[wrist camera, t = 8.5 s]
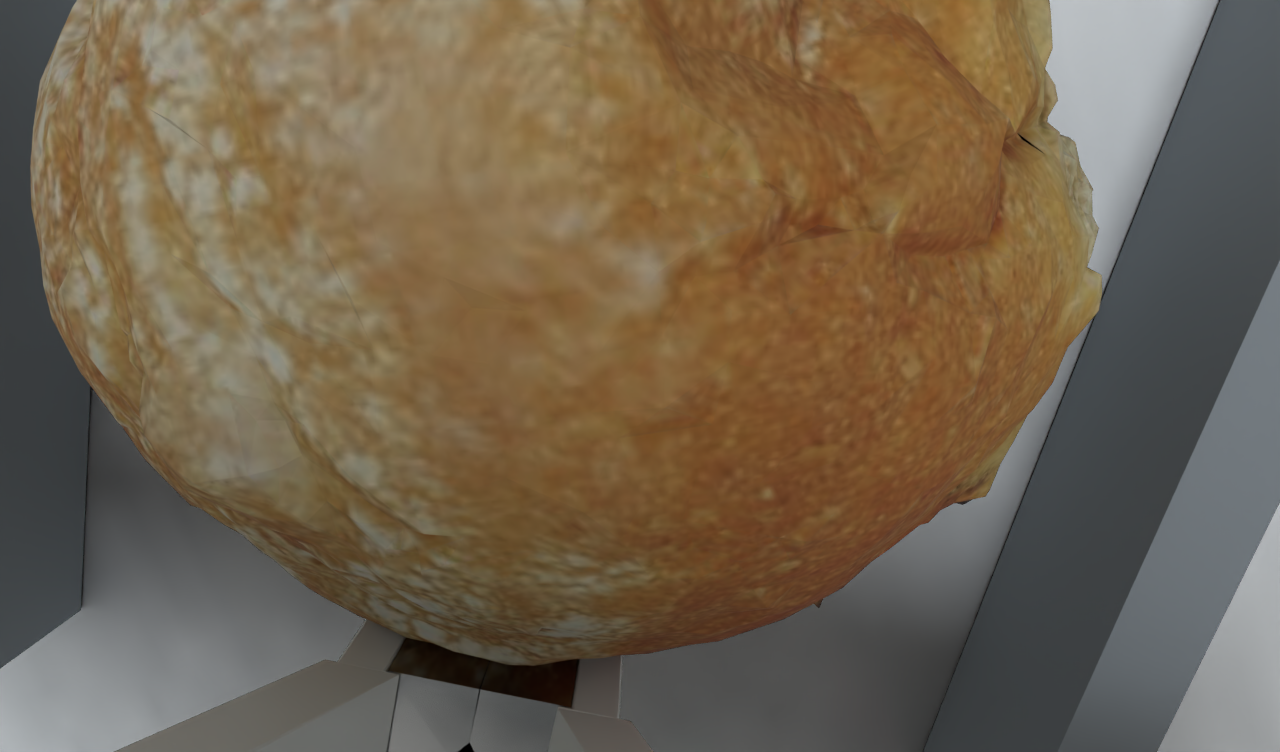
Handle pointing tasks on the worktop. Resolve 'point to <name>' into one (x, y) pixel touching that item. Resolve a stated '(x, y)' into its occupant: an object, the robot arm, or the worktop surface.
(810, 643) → the worktop surface
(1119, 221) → the worktop surface
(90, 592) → the worktop surface
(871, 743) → the worktop surface
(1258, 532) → the slate bay
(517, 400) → the bread roll
